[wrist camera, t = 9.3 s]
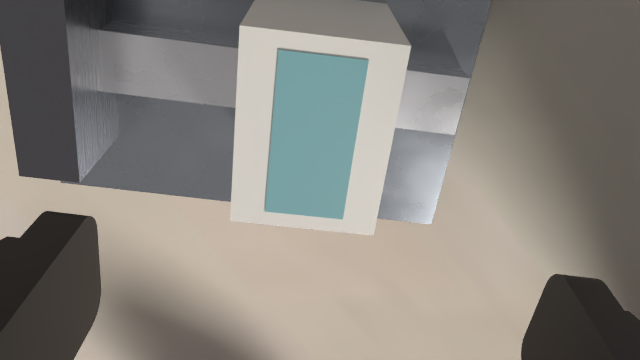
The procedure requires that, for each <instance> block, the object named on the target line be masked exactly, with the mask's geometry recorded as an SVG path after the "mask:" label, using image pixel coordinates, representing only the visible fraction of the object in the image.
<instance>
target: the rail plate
mask: <svg viewBox="0 0 640 360" xmlns="http://www.w3.org/2000/svg"><path fill="white" fill-rule="evenodd" d="M361 1H369V2H377V3H385V4H387V5H388V7H389V8H390V10H391V12H392V14H393V15H394V17H395V19H396V20H397V22H398V24H399V26H400V27H401V29H402V31H403V33H404V34H405V36H406V38H407V39H408V41H409V43H410V45H411V50H410V55H409V60H408V65H407V70H406V75H405V80H404V85H403V90H402V95H401V100H400V106H399V111H398V116H397V121H396V126H395V131H394V136H393V141H392V146H391V151H390V156H389V161H388V166H387V171H386V176H385V181H384V186H383V191H382V196H381V201H380V206H379V211H378V216H377V218H379V219H388V220H397V221H406V222H414V223H423V224H431V223H432V220H433V216H434V212H435V208H436V205H437V201H438V197H439V194H440V190H441V186H442V183H443V179H444V175H445V171H446V168H447V164H448V160H449V157H450V153H451V149H452V145H453V142H454V138H455V134H456V131H457V127H458V123H459V120H460V116H461V112H462V108H463V105H464V101H465V97H466V94H467V90H468V86H469V83H470V79H471V75H472V71H473V68H474V64H475V60H476V57H477V53H478V49H479V45H480V42H481V38H482V34H483V31H484V27H485V23H486V20H487V16H488V12H489V8H490V5H491V1H492V0H361ZM253 2H254V0H0V46H1V53H2V60H3V66H4V73H5V80H6V87H7V94H8V101H9V108H10V115H11V121H12V128H13V135H14V142H15V149H16V156H17V163H18V170H19V176H25V177H33V178H42V179H51V180H60V181H61V183H69V184H78V185H87V186H96V187H105V188H114V189H122V190H131V191H140V192H149V193H158V194H167V195H175V196H184V197H193V198H202V199H211V200H220V201H229V202H231V192H232V171H233V150H234V130H235V109H236V88H237V68H238V47H239V27H240V24H241V22H242V20H243V19H244V17H245V15H246V14H247V12H248V10H249V9H250V7H251V5H252V4H253Z"/></svg>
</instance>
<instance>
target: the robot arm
mask: <svg viewBox="0 0 640 360" xmlns="http://www.w3.org/2000/svg"><path fill="white" fill-rule="evenodd" d="M100 296H101V280H100V264H99V249H98V234H97V225H96V221H95V219H94V218H93V217H92V216H84V215H76V214H67V213H59V212H51V211H46V212H44V213H42V214H41V215H40V216H39V217H38V218H37V219H36V220H35V222H34V223H33V224H32V225H31V226H30V227H29V228H28V229H27V230H26V232H25V233H24V234H23V235H22V236H21V237H20V238H16V237H5V238H4V239H2V240H0V360H74V358H75V356H76V354H77V352H78V350H79V349H80V347H81V345H82V343H83V341H84V339H85V338H86V336H87V334H88V332H89V330H90V328H91V327H92V325H93V323H94V320H95V318H96V315H97V311H98V308H99V303H100ZM521 360H640V320H638V319H637V318H636V317H635V316H634V315H632V314H631V313H630V312H629V311H624V310H623V308H622V307H621V305H620V304H619V303H618V301H617V300H616V298H615V297H614V296H613V294H612V293H611V291H610V290H609V288H608V287H607V286H606V284H605V283H604V282H603V281H601V280H599V279H594V278H586V277H577V276H569V275H561V274H555V275H553V276H551V277H550V278H549V280H548V281H547V283H546V285H545V288H544V290H543V293H542V295H541V297H540V300H539V302H538V305H537V307H536V309H535V312H534V314H533V317H532V319H531V321H530V324H529V326H528V329H527V331H526V333H525V336H524V339H523V343H522V350H521Z"/></svg>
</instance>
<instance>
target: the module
mask: <svg viewBox="0 0 640 360" xmlns="http://www.w3.org/2000/svg"><path fill="white" fill-rule="evenodd" d="M410 50H411V45H410V43H409V41H408V39H407V38H406V36H405V34H404V33H403V31H402V29H401V27H400V26H399V24H398V22H397V20H396V19H395V17H394V15H393V14H392V12H391V10H390V8H389V7H388V5H387V4H385V3H377V2H369V1H361V0H254V2H253V4H252V5H251V7H250V9H249V10H248V12H247V14H246V15H245V17H244V19H243V20H242V22H241V24H240V27H239V47H238V68H237V88H236V109H235V130H234V150H233V171H232V192H231V212H230V221H235V222H245V223H255V224H265V225H275V226H285V227H294V228H304V229H314V230H324V231H334V232H344V233H354V234H364V235H374V232H375V227H376V221H377V216H378V211H379V206H380V201H381V196H382V191H383V186H384V181H385V176H386V171H387V166H388V161H389V156H390V151H391V146H392V141H393V136H394V131H395V126H396V121H397V116H398V111H399V106H400V100H401V95H402V90H403V85H404V80H405V75H406V70H407V65H408V60H409V55H410Z"/></svg>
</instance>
